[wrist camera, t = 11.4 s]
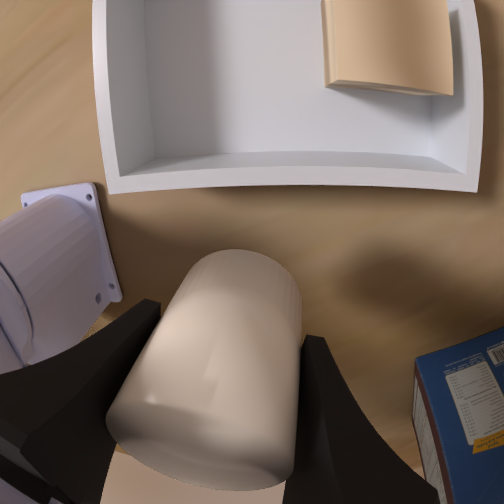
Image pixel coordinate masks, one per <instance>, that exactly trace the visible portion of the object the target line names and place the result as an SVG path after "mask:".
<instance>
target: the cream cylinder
mask: <svg viewBox="0 0 504 504" xmlns="http://www.w3.org/2000/svg"><path fill="white" fill-rule="evenodd" d="M301 333H302V297H301V293H300V290H299V287H298V285H297V283H296V281H295V280H294V278H293V277H292V275H291V274H290V273H289V272H288V271H287V270H286V269H285V268H284V267H283V266H282V265H280V264H279V263H277V262H276V261H274V260H273V259H271V258H269V257H267V256H265V255H262V254H260V253H257V252H253V251H249V250H241V249H229V250H222V251H218V252H214V253H212V254H209V255H207V256H205V257H204V258H202V259H200V260H199V261H198V262H197V263H195V264H194V266H193V267H192V268H191V269H190V271H189V272H188V274H187V275H186V277H185V279H184V280H183V282H182V283H181V285H180V287H179V288H178V290H177V292H176V293H175V295H174V297H173V298H172V300H171V302H170V303H169V305H168V307H167V308H166V310H165V312H164V313H163V315H162V317H161V318H160V320H159V322H158V324H157V325H156V327H155V329H154V330H153V332H152V334H151V335H150V337H149V339H148V341H147V342H146V344H145V346H144V348H143V349H142V351H141V353H140V355H139V356H138V358H137V360H136V362H135V363H134V365H133V367H132V369H131V370H130V372H129V374H128V376H127V378H126V379H125V381H124V383H123V385H122V387H121V388H120V390H119V392H118V394H117V396H116V397H115V399H114V401H113V403H112V405H111V407H110V408H109V410H108V412H107V414H106V419H105V420H106V426H107V428H108V431H109V432H110V434H111V436H112V437H113V438H114V440H115V441H116V442H117V443H118V444H119V445H120V446H121V447H122V448H123V449H124V450H125V451H126V452H127V453H128V454H130V455H131V456H132V457H134V458H135V459H137V460H138V461H140V462H141V463H143V464H144V465H146V466H148V467H150V468H151V469H153V470H155V471H157V472H159V473H162V474H164V475H166V476H168V477H171V478H174V479H176V480H179V481H182V482H185V483H188V484H193V485H196V486H200V487H205V488H211V489H217V490H226V491H252V490H260V489H265V488H269V487H272V486H275V485H278V484H280V483H282V482H284V481H285V480H286V479H288V478H289V476H290V475H291V474H292V472H293V468H294V457H295V444H296V431H297V416H298V400H299V382H300V360H301Z"/></svg>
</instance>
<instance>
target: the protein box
mask: <svg viewBox="0 0 504 504" xmlns="http://www.w3.org/2000/svg"><path fill="white" fill-rule="evenodd" d="M414 371H415V376H414V394H413V410H412V423H413V427H414V430H415V434H416V439H417V443H418V447H419V452H420V457H421V462H422V467H423V472H424V477H425V480H426V481H427V482H428V483H429V484H431V485H432V486H433V487H435V488H436V489H437V490H438V494H439V499H440V504H504V327H502V328H500V329H497V330H495V331H492V332H490V333H487V334H485V335H482V336H479V337H477V338H474V339H471V340H469V341H466V342H463V343H460V344H457V345H454V346H452V347H449V348H446V349H442V350H439V351H436V352H433V353H430V354H427V355H424V356H420V357H418V358H416V359H415V369H414Z"/></svg>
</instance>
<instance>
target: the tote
mask: <svg viewBox="0 0 504 504" xmlns="http://www.w3.org/2000/svg"><path fill="white" fill-rule="evenodd" d="M447 6H448V14H449V22H450V31H451V43H452V59H453V96H445V95H406V94H399V93H391V92H383V91H374V90H364V89H353V88H338V87H324V56H323V34H322V18H321V0H93V7H92V42H93V68H94V84H95V96H96V107H97V117H98V126H99V134H100V142H101V149H102V156H103V162H104V169H105V175H106V181H107V186H108V192H109V194H118V193H129V192H140V191H153V190H167V189H183V188H201V187H223V186H253V185H358V186H387V187H408V188H425V189H440V190H453V191H465V192H476V193H477V189H478V181H479V173H480V163H481V151H482V135H483V75H482V59H481V48H480V38H479V30H478V23H477V17H476V11H475V5H474V0H447Z"/></svg>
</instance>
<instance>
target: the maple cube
mask: <svg viewBox="0 0 504 504" xmlns="http://www.w3.org/2000/svg"><path fill="white" fill-rule="evenodd" d="M321 18H322V34H323V56H324V87H338V88H353V89H364V90H374V91H383V92H391V93H399V94H406V95H445V96H453V59H452V43H451V31H450V22H449V14H448V6H447V0H321Z"/></svg>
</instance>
